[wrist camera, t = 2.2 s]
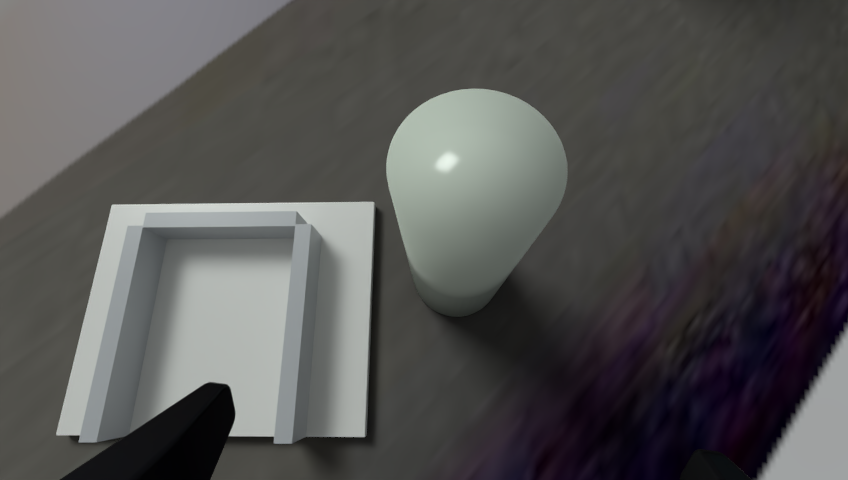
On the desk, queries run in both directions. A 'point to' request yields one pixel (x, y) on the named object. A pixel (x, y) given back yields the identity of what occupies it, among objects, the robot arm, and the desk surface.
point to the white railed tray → (229, 318)
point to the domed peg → (472, 192)
